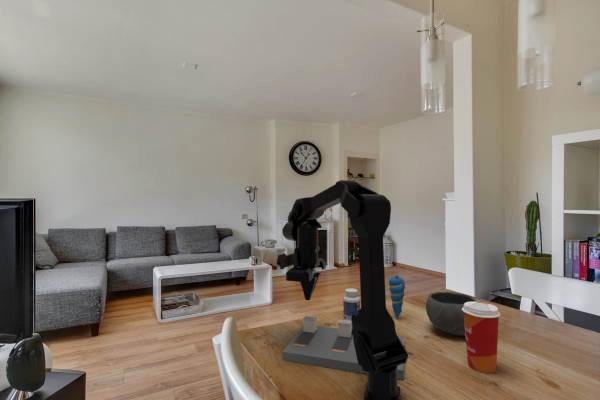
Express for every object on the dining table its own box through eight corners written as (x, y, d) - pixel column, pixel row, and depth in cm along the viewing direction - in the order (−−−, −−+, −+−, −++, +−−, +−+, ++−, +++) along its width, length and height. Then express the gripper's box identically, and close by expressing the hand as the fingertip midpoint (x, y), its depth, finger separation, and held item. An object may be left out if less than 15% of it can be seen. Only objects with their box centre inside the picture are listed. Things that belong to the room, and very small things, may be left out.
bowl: (490, 345, 82) (489, 307, 82) (429, 339, 86) (429, 303, 86) (474, 324, 96) (474, 292, 96) (423, 320, 100) (423, 289, 100)
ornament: (387, 319, 100) (386, 273, 101) (390, 314, 105) (390, 270, 105) (404, 322, 98) (403, 275, 98) (406, 317, 103) (406, 271, 103)
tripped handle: (314, 333, 85) (314, 320, 85) (303, 331, 86) (303, 318, 86) (316, 329, 87) (316, 316, 87) (305, 328, 88) (305, 315, 88)
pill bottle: (360, 323, 97) (359, 292, 97) (343, 322, 98) (342, 292, 98) (360, 317, 102) (360, 288, 102) (344, 316, 103) (343, 287, 104)
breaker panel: (403, 380, 66) (403, 370, 66) (282, 359, 75) (282, 351, 75) (403, 343, 83) (403, 335, 83) (304, 331, 92) (304, 323, 92)
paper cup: (466, 355, 76) (465, 298, 76) (503, 365, 71) (502, 305, 72) (459, 368, 70) (458, 307, 70) (499, 380, 65) (497, 314, 66)
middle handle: (350, 337, 82) (350, 324, 82) (338, 336, 83) (338, 322, 83) (352, 334, 84) (352, 320, 84) (340, 332, 85) (340, 319, 85)
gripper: (291, 239, 97) (292, 288, 97) (267, 247, 79) (267, 307, 79) (326, 240, 93) (326, 291, 93) (308, 248, 76) (308, 312, 76)
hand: (307, 299), depth 85 cm, fingers closed
